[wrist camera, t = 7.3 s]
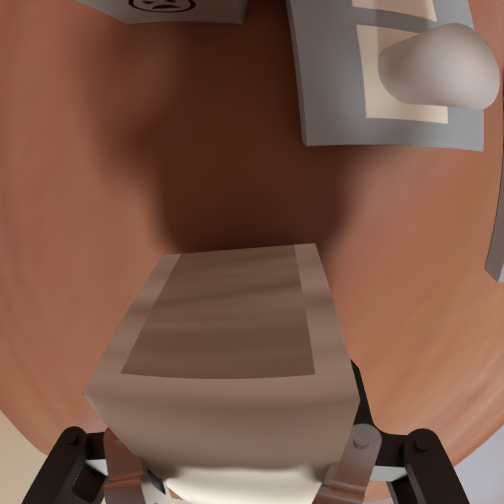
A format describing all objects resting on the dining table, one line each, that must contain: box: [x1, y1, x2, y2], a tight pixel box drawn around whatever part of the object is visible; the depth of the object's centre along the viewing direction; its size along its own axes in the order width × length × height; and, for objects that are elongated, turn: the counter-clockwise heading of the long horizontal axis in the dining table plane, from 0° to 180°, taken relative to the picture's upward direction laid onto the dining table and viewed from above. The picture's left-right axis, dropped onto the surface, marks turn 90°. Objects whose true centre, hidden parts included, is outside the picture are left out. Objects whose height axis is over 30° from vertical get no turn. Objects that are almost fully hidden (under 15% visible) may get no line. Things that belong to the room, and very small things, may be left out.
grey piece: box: [286, 0, 500, 151], centre depth 6 cm, size 10×8×6 cm
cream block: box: [82, 243, 360, 504], centre depth 10 cm, size 9×6×7 cm, turn 7°
